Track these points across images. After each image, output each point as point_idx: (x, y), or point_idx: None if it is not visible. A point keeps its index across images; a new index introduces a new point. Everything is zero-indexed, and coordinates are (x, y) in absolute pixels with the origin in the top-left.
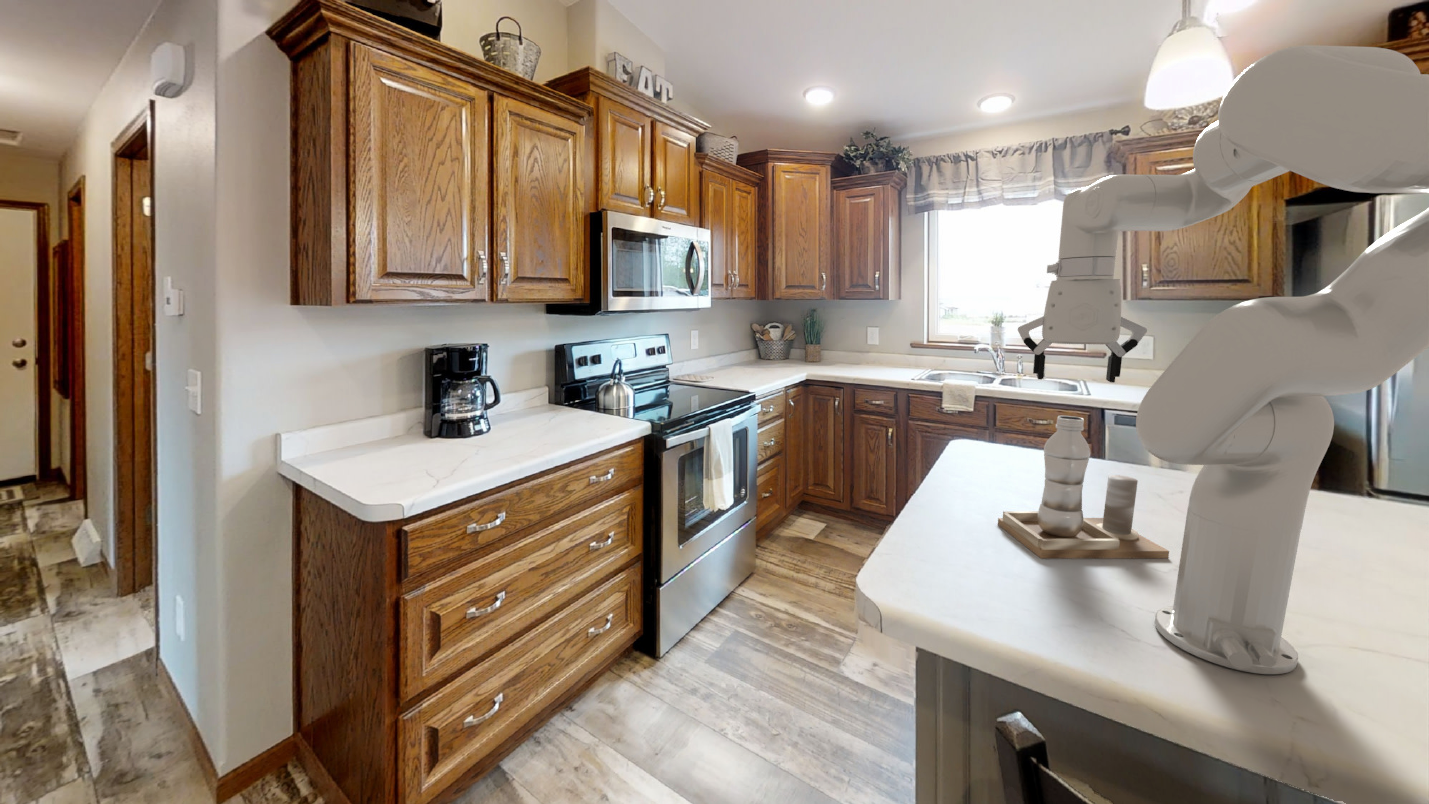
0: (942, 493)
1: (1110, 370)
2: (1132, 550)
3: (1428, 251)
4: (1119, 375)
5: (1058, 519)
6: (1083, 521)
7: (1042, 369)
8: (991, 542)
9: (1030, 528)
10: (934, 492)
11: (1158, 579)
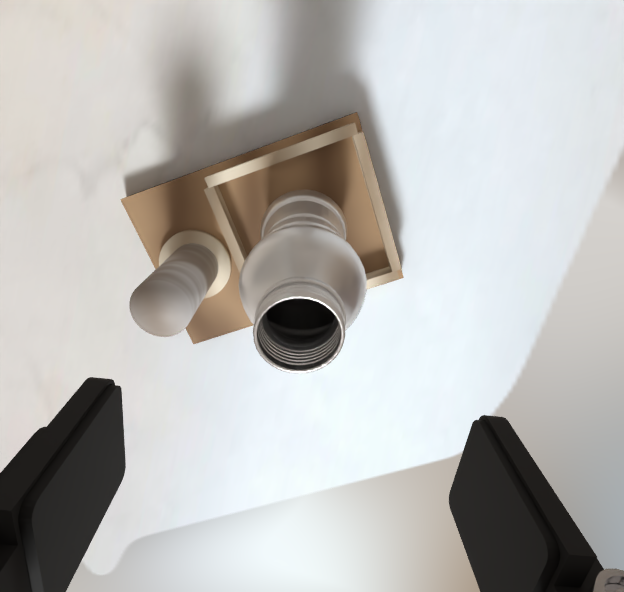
0: (473, 412)
1: (86, 430)
2: (184, 178)
3: None
4: (45, 427)
5: (316, 195)
6: (261, 222)
7: (511, 456)
8: (434, 169)
9: (351, 238)
10: (488, 413)
11: (163, 81)
